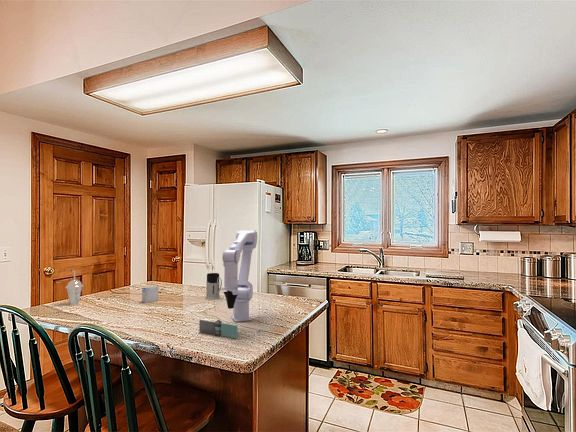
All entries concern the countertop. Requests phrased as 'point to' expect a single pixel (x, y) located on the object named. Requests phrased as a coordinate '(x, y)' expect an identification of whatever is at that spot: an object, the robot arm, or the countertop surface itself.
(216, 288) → the grey container
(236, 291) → the robot arm
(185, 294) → the countertop surface
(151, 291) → the medicine box
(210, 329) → the fixed steel leaf
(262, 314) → the countertop surface
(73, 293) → the cup with straw
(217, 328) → the teal swing leaf
